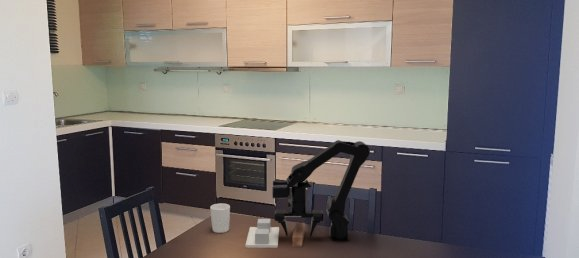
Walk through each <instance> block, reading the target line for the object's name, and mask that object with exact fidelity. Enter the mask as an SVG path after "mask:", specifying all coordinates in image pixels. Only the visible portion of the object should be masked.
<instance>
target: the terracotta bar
mask: <svg viewBox="0 0 579 258" xmlns="http://www.w3.org/2000/svg"><path fill="white" fill-rule="evenodd" d="M305 225H306V224H305V222H295V226H294V228H293V233H292V247H295V248H302V247H303V243H304V238H305V233H306V231H305V229H306V228H305V227H306V226H305Z"/></svg>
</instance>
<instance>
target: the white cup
mask: <svg viewBox="0 0 579 258" xmlns="http://www.w3.org/2000/svg"><path fill="white" fill-rule="evenodd" d="M209 207H210V208H209V209H210V219H211V227H212V228H211V229H212V232H214V233H217V234H218V233H219V234H221V233H226V232H229V231H230V222H231V221H230V218H231V217H230V216H231V214H230V213H231V206H230V204H227V203H214V204H212V205H210V206H209Z"/></svg>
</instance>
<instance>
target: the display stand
mask: <svg viewBox="0 0 579 258" xmlns="http://www.w3.org/2000/svg"><path fill="white" fill-rule="evenodd" d="M279 233H280V227H279V226H274V227H273V226H272V225H271V218H257V223H256V226H250V227H249V230H248V233H247V238H246V242H245V248H247V249H248V248H249V249H251V248H253V249H257V248H258V249H259V248H260V249H261V248H263V249H264V248H266V249H267V248H270V249H271V248H273V249H277V248H279V235H280V234H279Z"/></svg>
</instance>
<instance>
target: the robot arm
mask: <svg viewBox="0 0 579 258" xmlns="http://www.w3.org/2000/svg"><path fill="white" fill-rule="evenodd" d="M340 153H342V154H347V155H349V163H348V165H347V167H346V170H345V172H344V174H343V177H342V179H341V181H340V184H339V186H338V189H337V192H336V194H335V196H333V197H332V196H329V197H328V202H327V204H326V205H325V208H326V209H325V210H326V213H327V216H328V218H329V220H330V221H331V224H330V225H329V237H330V238H331V241H332V242H333V241H343V242H344V241H349V223H350V221H349V219H348V216H347V215H346V213H345V209H346V202H347V199H348V196H349V193H350V192H351V189H352V187H353V184H354V182H355V180H356V177H357V175H358V173H359V170H360V168H361V167H362V165H364V163H365V162H366V161H367V159H368V158H369V156H370V153H371V150H370V147H369V146H368V145H367V144H366V143H365V142H363V141H360V140H359V141H356V142H353V141H345V140H344V141H343V140H339V139H337V140H335V141H334V142H333V143H332V144H330V145H329V146H327V147H326V148H325V149H323V150H321V151H320V152H318V153H317V154H315V155H313V157H311V158H310V159H308V160H303V161H301V162H299V163H297V164H295V165H294V166H292V167H291V170H290V173H289V175H288V177H287V178H286V180H273V181H272V192H271V193H272V194H271V195H272V200H273V199H287V207H288V208H290V209H291V212H288V211H287V212H286V209H276V210H275V211H274V221H275V222H277V223H278V224H280V225H281V227H282V229H283V231H284V233H285V236H286V237H289V236H288V233H289V231H288V224H287V219H290V218H297V219H298V218H300V219H301V218H302V219H303V218H307V219H308V218H310V219H311V223H310V228H309V229H310V231H309V237H312V235H313V233H314V231H315V228H316V227H317V224H320V222H323V221H324V211H323V210H322V209H312V212H307V188H311V187H312V184H311V182H309V181H308V178H309V177H310V176H311V175H312V174H313V172H315V170H317V168H319V167H321V166H322V165H324V164H325V163H327V162H329V161H330V160H331V159H333V158H334V157H336V156H337V155H338V154H340ZM290 196H291V198H289V197H290Z"/></svg>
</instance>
